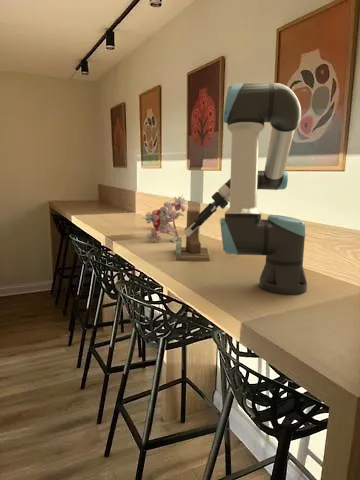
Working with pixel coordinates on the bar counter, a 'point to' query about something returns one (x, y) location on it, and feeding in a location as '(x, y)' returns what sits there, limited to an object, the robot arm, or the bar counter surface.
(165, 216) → the flower
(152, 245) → the bar counter surface
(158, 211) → the red rounded piece
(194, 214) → the wooden block
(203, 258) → the walnut edge board
